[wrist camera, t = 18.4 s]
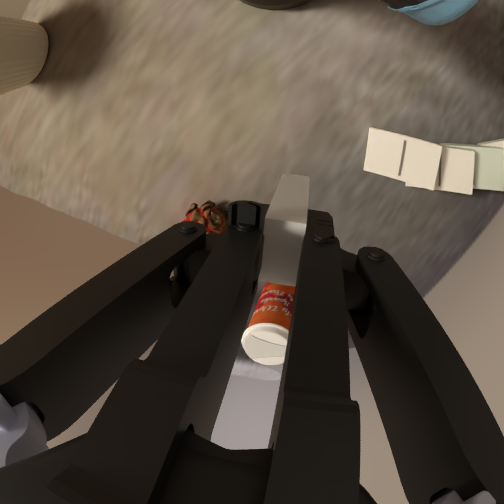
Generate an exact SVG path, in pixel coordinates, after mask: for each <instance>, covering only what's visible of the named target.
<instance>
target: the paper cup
mask: <svg viewBox="0 0 504 504" xmlns="http://www.w3.org/2000/svg"><path fill="white" fill-rule="evenodd" d="M294 292H295V287H294V286H288V285H282V284H275V283H269V282H267V283H266V284H265V286H264V288H263V291H262V293H261V296H260V298H259V301H258V303H257V306H256V308H255V311H254V314H253V316H252V319H251V321H250V324H249V326H248V328H247V329H246V330H245V332H244V333H243V336H242V340H241V342H242V345H243V348H244V350H245V352H246V353H247V355H248V356H249V357H250V358H251V359H253V360H254V361H256V362H258V363H261V364H266V365H276V364H281V363H283V362H284V358H285V352H286V346H287V339H288V333H289V326H290V320H291V313H292V303H293V298H294Z"/></svg>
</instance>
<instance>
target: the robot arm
mask: <svg viewBox="0 0 504 504" xmlns="http://www.w3.org/2000/svg"><path fill="white" fill-rule="evenodd" d="M240 1H241V2H243V3H245V4H248V5H250V6H253V7H257V8H262V9H270V10H279V9H288V8H293V7H296V6H299V5H302V4H304V3H307V2H308V1H310V0H240ZM377 1H379V2H381V3H383V4H385V5H386V6H387V7H388V8H389V9H391V10H393V11H397V12H401V13H403V14H405V15H407V16H409V17H411V18H413V19H415V20H416V21H418V22H420V23H423V24H426V25H437V26H438V25H444V24H447V23H450V22H452V21H454V20H456V19H457V18H459V17H461V16H462V15H463V14H465V13H466V12H467V11H469V10H470V9H471V8H472V7H473V6H474V5H475V4H476V3H477V2H478V1H479V0H377ZM309 183H310V177H308V176H301V175H294V174H286V173H283V174H282V177H281V179H280V182H279V184H278V187H277V189H276V192H275V194H274V196H273V199H272V201H271V204H270V205H269V204H261V203H257V202H253V201H235V202H232V203H230V204H229V206H228V226H227V227H226V229H225V230H224V232H223V233H217V234H206V227H205V226H204V225H203V224H201V223H198V222H194V221H184V222H181V223H178V224H175V225H173V226H172V227H170V228H169V229H167V230H165V231H164V232H162V233H160V234H159V235H157V236H156V237H154V238H152V239H151V240H149V241H148V242H146V243H145V244H143V245H141V246H140V247H138V248H137V249H135V250H134V251H132V252H131V253H129V254H127V255H126V256H124V257H123V258H121V259H120V260H118V261H117V262H116V263H114V264H112V265H111V266H109V267H108V268H106V269H105V270H103V271H102V272H100V273H99V274H97V275H96V276H94V277H93V278H91V279H90V280H89V281H87V282H86V283H84V284H83V285H81V286H80V287H78V288H77V289H76V290H74V291H73V292H71V293H70V294H69V295H67V296H66V297H64V298H63V299H62V300H60V301H59V302H57V303H56V304H55V305H53V306H52V307H50V308H49V309H48V310H46V311H45V312H44V313H42V314H41V315H40V316H38V317H37V318H36V319H34V320H33V321H32V322H30V323H29V324H28V325H26V326H25V327H24V328H22V329H21V330H20V331H18V332H17V333H16V334H15V335H13V336H12V337H11V338H10V339H8V340H7V341H6V342H5V343H3V344H1V345H0V504H377V503H376V502H375V501H374V499H373V498H372V497H371V496H370V494H369V493H368V492H367V490H366V489H365V488H364V487H363V486H362V485H361V484H360V483H359V479H360V478H359V477H360V409H359V404H358V402H357V401H353V400H351V398H350V372H349V346H348V329H349V332H350V334H351V337H352V339H353V342H354V345H355V347H356V350H357V352H358V355H359V357H360V360H361V363H362V366H363V368H364V371H365V374H366V377H367V379H368V382H369V385H370V387H371V391H372V393H373V396H374V399H375V402H376V404H377V408H378V410H379V414H380V417H381V419H382V423H383V426H384V429H385V431H386V435H387V438H388V441H389V444H390V447H391V450H392V453H393V457H394V460H395V464H396V467H397V470H398V474H399V477H400V481H401V484H402V486H403V489H404V492H405V495H406V498H407V500H408V502H409V504H504V436H503V434H502V432H501V430H500V428H499V426H498V424H497V422H496V420H495V418H494V416H493V414H492V412H491V410H490V408H489V406H488V404H487V402H486V400H485V399H484V396H483V395H482V393H481V391H480V389H479V387H478V385H477V384H476V382H475V380H474V379H473V377H472V375H471V373H470V371H469V370H468V368H467V366H466V365H465V363H464V361H463V360H462V358H461V356H460V355H459V353H458V351H457V350H456V348H455V347H454V345H453V343H452V342H451V340H450V339H449V337H448V335H447V334H446V332H445V331H444V329H443V328H442V326H441V325H440V323H439V322H438V320H437V319H436V317H435V316H434V314H433V313H432V311H431V310H430V308H429V307H428V305H427V304H426V303H425V301H424V300H423V298H422V297H421V295H420V294H419V293H418V291H417V290H416V288H415V287H414V286H413V284H412V283H411V282H410V280H409V279H408V278H407V276H406V275H405V273H404V272H403V271H402V269H401V268H400V267H399V265H398V264H397V263H396V262H395V260H394V259H393V258H392V256H391V255H389V254H388V253H387V252H385V251H383V250H382V249H380V248H379V249H378V248H377V247H363V248H361V249H359V251H358V255H355V254H352V253H349V252H347V251H345V250H343V249H341V248H340V243H339V240H338V238H337V237H335V235H334V227H333V217H332V216H331V215H330V214H329V213H328V212H323V211H316V210H310V209H308V198H309ZM173 270H174V276H173V277H171V278H170V275H171V272H172V271H173ZM259 274H260V276H259ZM258 277H259V281H263V282H269V283H275V284H282V285H288V286H294V287H295V292H294V298H293V303H292V313H291V320H290V326H289V333H288V339H287V346H286V352H285V358H284V364H283V370H282V376H281V382H280V387H279V393H278V399H277V404H276V409H275V415H274V420H273V425H272V430H271V435H270V440H269V445H268V449H249V450H229V449H225V448H223V447H221V446H219V445H217V444H215V443H212V442H211V441H210V440H211V435H212V431H213V428H214V425H215V422H216V418H217V415H218V412H219V409H220V406H221V403H222V400H223V397H224V394H225V390H226V387H227V384H228V381H229V378H230V375H231V371H232V368H233V365H234V362H235V359H236V356H237V352H238V349H239V346H240V343H241V340H242V336H243V333H244V330H245V327H246V323H247V320H248V317H249V314H250V310H251V307H252V304H253V301H254V297H255V294H256V291H257V286H258ZM347 327H348V329H347ZM158 338H159V339H158ZM157 339H158V341H157V342H156V344H155V346H154V347H153V349H152V351H151V353H150V355H149V356H148V357H147V359H145V360H144V361H143V360H139V359H138V358H139V357H140V356H141V355H142V354H143V353H144V352H145V351H146V350H147V349H148V348H149V347H150V346H151V345H152V344H153V343H154V342H155V341H156V340H157ZM117 380H118V381H117ZM116 381H117V383H116V384H115V386H114V388H113V389H112V391H111V393H110V395H109V396H108V398H107V400H106V401H105V403H104V405H103V406H102V408H101V410H100V412H99V413H98V415H97V417H96V418H95V420H94V422H93V424H92V426H91V427H90V429H89V431H88V432H87V433H85V434H83V435H81V436H79V437H77V438H74V439H72V440H70V441H67V442H65V443H63V444H61V445H58V446H56V447H53V448H51V449H48V446H47V445H46V443H47V441H49V440H51V439H53V438H55V437H56V436H58V435H59V434H61V433H62V432H63V431H65V430H66V429H68V428H69V427H70V426H71V425H72V424H73V423H74V422H76V421H77V420H78V419H79V418H80V417H81V416H82V415H83V414H84V413H85V412H86V411H87V410H88V409H89V408H90V407H91V406H92V405H93V404H94V403H95V402H96V401H97V400H98V399H99V398H100V397H101V396H102V395H103V394H104V393H105V391H107V390H108V389H109V388H110V387H111V386H112V385H113V384H114V383H115V382H116Z"/></svg>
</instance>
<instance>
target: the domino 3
mask: <svg viewBox="0 0 504 504" xmlns="http://www.w3.org/2000/svg"><path fill="white" fill-rule="evenodd" d="M440 145H446V146H454V147H461V148H469V149H473V150H474V151H475V158H474V177H473V188H474V189H486V190H497V191H503V187H504V149H503V148H502V147H495V146H484V145H470V144H453V143H440Z"/></svg>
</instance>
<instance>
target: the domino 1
mask: <svg viewBox="0 0 504 504" xmlns="http://www.w3.org/2000/svg"><path fill="white" fill-rule="evenodd" d="M441 151H442V145H440V144H436V143H433V142H430V141H426V140H423V139H419V138H415V137H412V136H408V135H404V134H400V133H396V132H392V131H388V130H384V129H379V128H375V127H370V128H369V136H368V144H367V151H366V157H365V164H364V170H365V171H369V172H372V173H376V174H380V175H383V176H387V177H390V178H394V179H397V180H401V181H404V182H407V183H411V184H414V185H417V186H420V187H423V188H427V189H430V190H434V186H435V181H436V177H437V172H438V167H439V162H440V157H441Z"/></svg>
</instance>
